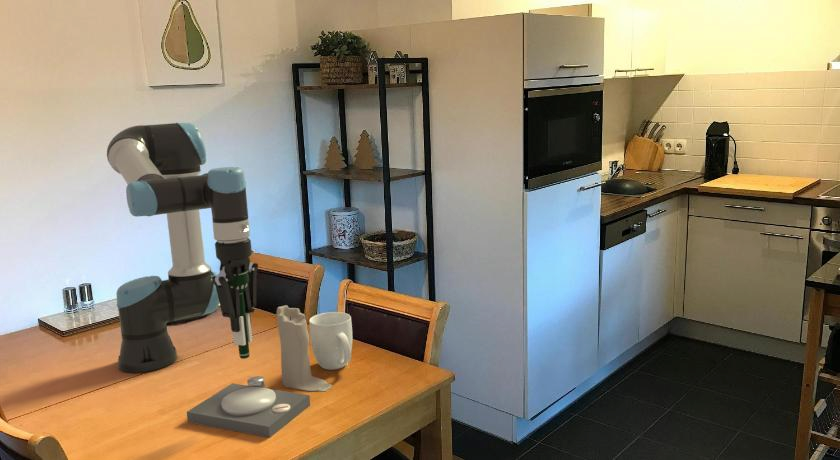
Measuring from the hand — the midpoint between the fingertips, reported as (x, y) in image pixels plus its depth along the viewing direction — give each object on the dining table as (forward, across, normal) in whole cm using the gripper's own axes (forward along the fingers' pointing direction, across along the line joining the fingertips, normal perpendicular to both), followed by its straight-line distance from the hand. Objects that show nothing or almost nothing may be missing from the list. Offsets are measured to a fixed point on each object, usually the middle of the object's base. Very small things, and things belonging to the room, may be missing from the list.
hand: (243, 342), depth 152 cm
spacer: (+17, +12, +7) cm, 22 cm away
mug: (+17, +30, -5) cm, 35 cm away
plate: (+17, +56, +72) cm, 93 cm away
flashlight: (+4, 0, 0) cm, 4 cm away
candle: (+17, +18, -4) cm, 25 cm away
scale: (+17, 0, 0) cm, 17 cm away
